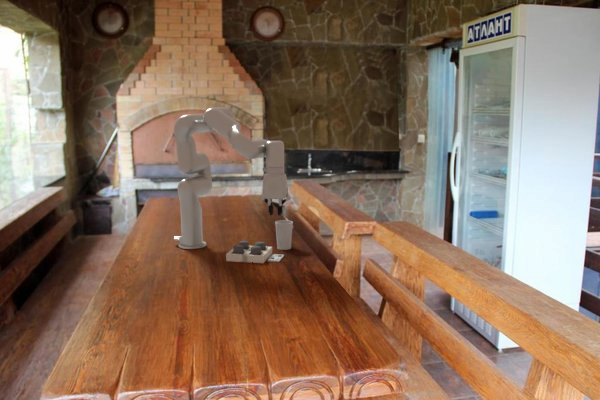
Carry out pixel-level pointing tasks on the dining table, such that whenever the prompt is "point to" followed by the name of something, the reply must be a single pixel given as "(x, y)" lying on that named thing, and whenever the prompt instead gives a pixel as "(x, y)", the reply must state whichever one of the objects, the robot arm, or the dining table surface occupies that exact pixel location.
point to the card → (275, 258)
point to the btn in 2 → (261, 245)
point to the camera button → (238, 249)
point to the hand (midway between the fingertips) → (275, 214)
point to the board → (249, 256)
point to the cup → (284, 234)
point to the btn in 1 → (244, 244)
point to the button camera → (255, 250)
